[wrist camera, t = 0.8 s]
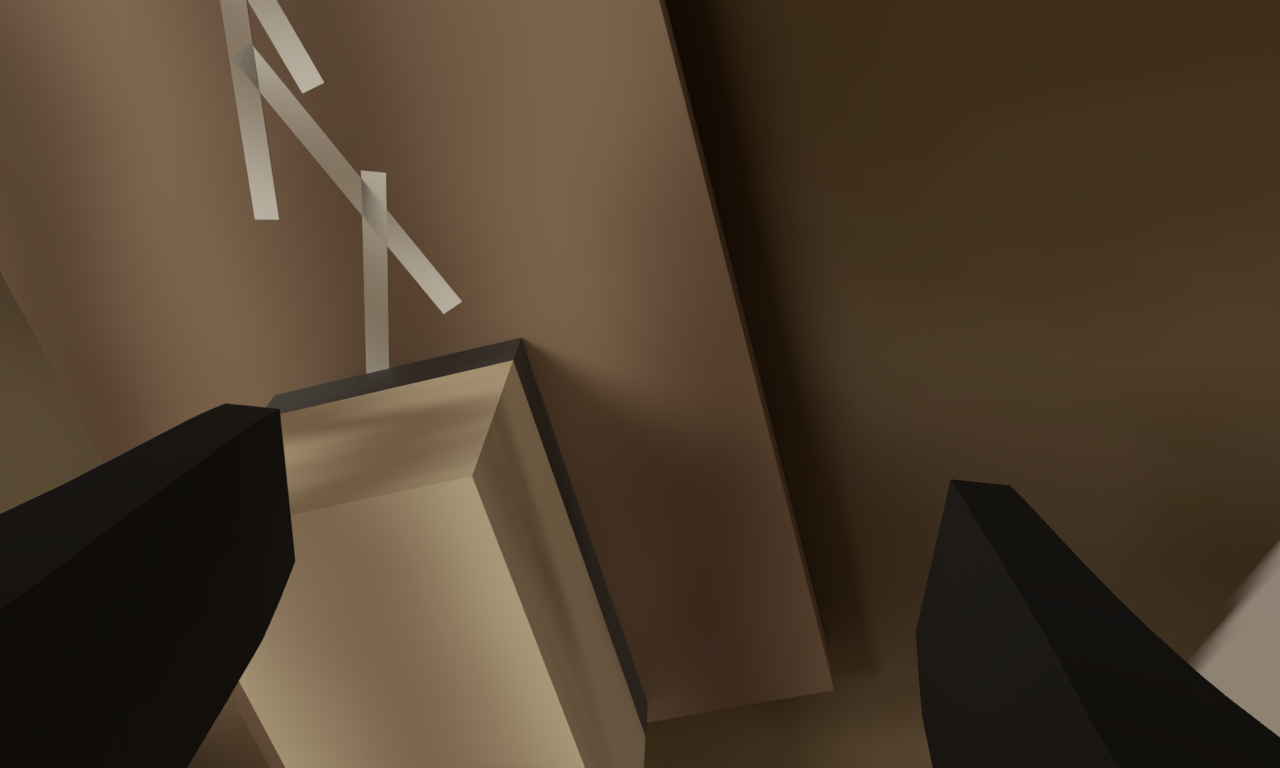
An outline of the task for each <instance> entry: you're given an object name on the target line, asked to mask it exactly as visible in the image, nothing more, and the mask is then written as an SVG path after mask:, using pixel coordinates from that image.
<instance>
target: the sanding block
mask: <svg viewBox="0 0 1280 768" xmlns="http://www.w3.org/2000/svg"><path fill="white" fill-rule="evenodd" d="M266 408H276V409H280V415H281V425H282V435H283V444H284V454H285V464H286V474H287V483H288V493H289V503H290V513H291V522H292V532H293V542H294V552H295V564H294V567H293V569H292V572H291V574H290V577H289V579H288V582H287V584H286V587H285V589H284V592H283V594H282V597H281V599H280V602H279V604H278V607H277V609H276V611H275V613H274V616H273V618H272V620H271V623H270V625H269V627H268V630H267V632H266V634H265V636H264V639H263V640H262V642H261V644H260V646H259V647H258V649H257V651H256V653H255V654H254V656H253V658H252V660H251V661H250V663H249V665H248V666H247V668H246V670H245V672H244V673H243V675H242V677H241V678H240V680H239V682H240V684H241V686H242V688H243V689H244V691H245V693H246V695H247V697H248V699H249V701H250V703H251V704H252V706H253V708H254V710H255V712H256V714H257V716H258V717H259V719H260V721H261V723H262V725H263V727H264V729H265V731H266V732H267V734H268V736H269V738H270V740H271V742H272V744H273V745H274V747H275V749H276V751H277V753H278V755H279V757H280V759H281V760H282V762H283V764H284V766H285V768H644V757H645V741H646V725H647V709H648V704H647V701H646V698H645V695H644V692H643V689H642V686H641V683H640V680H639V678H638V675H637V672H636V669H635V666H634V663H633V660H632V657H631V654H630V651H629V649H628V646H627V643H626V640H625V637H624V634H623V631H622V628H621V625H620V622H619V620H618V617H617V614H616V611H615V608H614V605H613V602H612V599H611V596H610V593H609V591H608V588H607V585H606V582H605V579H604V576H603V573H602V570H601V567H600V565H599V562H598V559H597V556H596V553H595V550H594V547H593V544H592V541H591V538H590V536H589V533H588V530H587V527H586V524H585V521H584V518H583V515H582V512H581V509H580V507H579V504H578V501H577V498H576V495H575V492H574V489H573V486H572V483H571V480H570V478H569V475H568V472H567V469H566V466H565V463H564V460H563V457H562V454H561V452H560V449H559V446H558V443H557V440H556V437H555V434H554V431H553V428H552V425H551V423H550V420H549V417H548V414H547V411H546V408H545V405H544V402H543V399H542V396H541V394H540V391H539V388H538V385H537V382H536V379H535V376H534V373H533V370H532V367H531V365H530V362H529V359H528V356H527V353H526V350H525V347H524V344H523V341H522V338H517V339H512V340H508V341H504V342H500V343H495V344H491V345H487V346H483V347H478V348H474V349H470V350H465V351H461V352H457V353H453V354H448V355H444V356H440V357H436V358H431V359H427V360H423V361H419V362H414V363H410V364H406V365H401V366H397V367H393V368H389V369H384V370H380V371H376V372H372V373H367V374H363V375H359V376H354V377H350V378H346V379H342V380H337V381H333V382H329V383H325V384H320V385H316V386H312V387H308V388H303V389H299V390H295V391H290V392H286V393H282V394H278V395H275V396H274V397H273V398H272V400H271V401H270V402H269V404H268V405H267V406H266Z"/></svg>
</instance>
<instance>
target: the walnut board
mask: <svg viewBox="0 0 1280 768" xmlns="http://www.w3.org/2000/svg"><path fill="white" fill-rule="evenodd" d="M0 272H1V274H2V276H3V278H4V279H5V281H6V283H7V285H8V287H9V289H10V291H11V292H12V294H13V296H14V298H15V300H16V302H17V303H18V305H19V307H20V309H21V311H22V313H23V315H24V316H25V318H26V320H27V322H28V324H29V326H30V327H31V329H32V331H33V333H34V335H35V337H36V338H37V340H38V342H39V344H40V346H41V348H42V350H43V351H44V353H45V355H46V357H47V359H48V361H49V362H50V364H51V366H52V368H53V370H54V372H55V374H56V375H57V377H58V379H59V381H60V383H61V385H62V386H63V388H64V390H65V392H66V394H67V396H68V398H69V399H70V401H71V403H72V405H73V407H74V409H75V410H76V412H77V414H78V416H79V418H80V420H81V421H82V423H83V425H84V427H85V429H86V431H87V433H88V434H89V436H90V438H91V440H92V442H93V444H94V445H95V447H96V449H97V451H98V453H99V455H100V457H101V458H102V460H103V462H104V463H106V462H108V461H110V460H112V459H114V458H116V457H118V456H119V455H121V454H123V453H125V452H127V451H129V450H131V449H133V448H135V447H137V446H139V445H141V444H142V443H144V442H146V441H148V440H150V439H152V438H154V437H156V436H158V435H160V434H162V433H163V432H165V431H167V430H169V429H171V428H173V427H175V426H177V425H179V424H181V423H183V422H185V421H187V420H189V419H191V418H193V417H195V416H197V415H199V414H201V413H204V412H206V411H208V410H210V409H213V408H215V407H218V406H220V405H222V404H225V403H228V404H238V405H247V406H257V407H266V406H267V405H268V404H269V402H270V401H271V400H272V398H273V397H274V396H275V395H278V394H282V393H286V392H290V391H295V390H299V389H303V388H308V387H312V386H316V385H320V384H325V383H329V382H333V381H337V380H342V379H346V378H350V377H354V376H359V375H363V374H367V373H372V372H376V371H380V370H384V369H389V368H393V367H397V366H401V365H406V364H410V363H414V362H419V361H423V360H427V359H431V358H436V357H440V356H444V355H448V354H453V353H457V352H461V351H465V350H470V349H474V348H478V347H483V346H487V345H491V344H495V343H500V342H504V341H508V340H512V339H517V338H522V341H523V344H524V347H525V350H526V353H527V356H528V359H529V362H530V365H531V367H532V370H533V373H534V376H535V379H536V382H537V385H538V388H539V391H540V394H541V396H542V399H543V402H544V405H545V408H546V411H547V414H548V417H549V420H550V423H551V425H552V428H553V431H554V434H555V437H556V440H557V443H558V446H559V449H560V452H561V454H562V457H563V460H564V463H565V466H566V469H567V472H568V475H569V478H570V480H571V483H572V486H573V489H574V492H575V495H576V498H577V501H578V504H579V507H580V509H581V512H582V515H583V518H584V521H585V524H586V527H587V530H588V533H589V536H590V538H591V541H592V544H593V547H594V550H595V553H596V556H597V559H598V562H599V565H600V567H601V570H602V573H603V576H604V579H605V582H606V585H607V588H608V591H609V593H610V596H611V599H612V602H613V605H614V608H615V611H616V614H617V617H618V620H619V622H620V625H621V628H622V631H623V634H624V637H625V640H626V643H627V646H628V649H629V651H630V654H631V657H632V660H633V663H634V666H635V669H636V672H637V675H638V678H639V680H640V683H641V686H642V689H643V692H644V695H645V698H646V701H647V704H648V709H647V723H649V722H655V721H661V720H666V719H672V718H678V717H684V716H689V715H695V714H701V713H707V712H712V711H718V710H724V709H730V708H735V707H741V706H747V705H753V704H758V703H764V702H770V701H776V700H781V699H787V698H793V697H799V696H804V695H810V694H816V693H822V692H827V691H833V690H834V686H833V679H832V672H831V666H830V659H829V652H828V646H827V641H826V637H825V633H824V630H823V626H822V622H821V618H820V614H819V610H818V606H817V602H816V598H815V594H814V590H813V586H812V582H811V578H810V574H809V570H808V566H807V562H806V558H805V554H804V550H803V546H802V542H801V538H800V534H799V530H798V526H797V522H796V518H795V514H794V510H793V506H792V502H791V498H790V494H789V490H788V486H787V482H786V478H785V474H784V470H783V467H782V463H781V459H780V455H779V451H778V447H777V443H776V439H775V435H774V431H773V427H772V423H771V419H770V415H769V411H768V407H767V403H766V399H765V395H764V391H763V387H762V383H761V379H760V375H759V371H758V367H757V363H756V359H755V355H754V351H753V347H752V343H751V339H750V335H749V331H748V327H747V323H746V319H745V315H744V311H743V307H742V304H741V300H740V296H739V292H738V288H737V284H736V280H735V276H734V272H733V268H732V264H731V260H730V256H729V252H728V248H727V244H726V240H725V236H724V232H723V228H722V224H721V220H720V216H719V212H718V208H717V204H716V200H715V196H714V192H713V188H712V184H711V180H710V176H709V172H708V168H707V164H706V160H705V156H704V152H703V148H702V145H701V141H700V137H699V133H698V129H697V125H696V121H695V117H694V113H693V109H692V105H691V101H690V97H689V93H688V89H687V85H686V81H685V77H684V73H683V69H682V65H681V61H680V57H679V53H678V49H677V45H676V41H675V37H674V33H673V29H672V25H671V21H670V17H669V13H668V9H667V5H666V1H665V0H0ZM230 696H231V698H232V700H233V702H234V704H235V706H236V707H237V709H238V711H239V713H240V715H241V717H242V718H243V720H244V722H245V724H246V726H247V728H248V730H249V731H250V733H251V735H252V737H253V739H254V741H255V742H256V744H257V746H258V748H259V750H260V752H261V754H262V755H263V757H264V759H265V761H266V763H267V765H268V766H269V768H285V766H284V764H283V762H282V760H281V759H280V757H279V755H278V753H277V751H276V749H275V747H274V745H273V744H272V742H271V740H270V738H269V736H268V734H267V732H266V731H265V729H264V727H263V725H262V723H261V721H260V719H259V717H258V716H257V714H256V712H255V710H254V708H253V706H252V704H251V703H250V701H249V699H248V697H247V695H246V693H245V691H244V689H243V688H242V686H241V684H240V682H238V683H237V685H236V687H235V689H234V690H233V692H232V694H231V695H230Z"/></svg>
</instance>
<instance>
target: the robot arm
mask: <svg viewBox="0 0 1280 768" xmlns="http://www.w3.org/2000/svg"><path fill="white" fill-rule="evenodd" d="M294 564H295V552H294V542H293V532H292V522H291V513H290V503H289V493H288V483H287V474H286V464H285V454H284V444H283V435H282V425H281V415H280V409H276V408H266V407H257V406H247V405H238V404H228V403H225V404H222V405H220V406H218V407H215V408H213V409H210V410H208V411H206V412H204V413H201V414H199V415H197V416H195V417H193V418H191V419H189V420H187V421H185V422H183V423H181V424H179V425H177V426H175V427H173V428H171V429H169V430H167V431H165V432H163V433H162V434H160V435H158V436H156V437H154V438H152V439H150V440H148V441H146V442H144V443H142V444H141V445H139V446H137V447H135V448H133V449H131V450H129V451H127V452H125V453H123V454H121V455H119V456H118V457H116V458H114V459H112V460H110V461H108V462H106V463H104V464H102V465H100V466H98V467H96V468H94V469H92V470H90V471H89V472H87V473H85V474H83V475H81V476H79V477H77V478H75V479H73V480H71V481H69V482H67V483H65V484H63V485H61V486H59V487H57V488H55V489H53V490H51V491H48V492H46V493H44V494H42V495H40V496H38V497H36V498H34V499H31V500H29V501H27V502H25V503H23V504H21V505H19V506H17V507H15V508H12V509H10V510H8V511H6V512H4V513H2V514H0V768H187V767H188V765H189V763H190V762H191V760H192V759H193V757H194V755H195V754H196V752H197V750H198V749H199V747H200V745H201V744H202V742H203V740H204V739H205V737H206V735H207V734H208V732H209V730H210V729H211V727H212V725H213V724H214V722H215V720H216V719H217V717H218V715H219V714H220V712H221V710H222V709H223V707H224V705H225V704H226V702H227V700H228V699H229V697H230V695H231V694H232V692H233V690H234V689H235V687H236V685H237V683H238V682H239V680H240V678H241V677H242V675H243V673H244V672H245V670H246V668H247V666H248V665H249V663H250V661H251V660H252V658H253V656H254V654H255V653H256V651H257V649H258V647H259V646H260V644H261V642H262V640H263V639H264V636H265V634H266V632H267V630H268V627H269V625H270V623H271V620H272V618H273V616H274V613H275V611H276V609H277V607H278V604H279V602H280V599H281V597H282V594H283V592H284V589H285V587H286V584H287V582H288V579H289V577H290V574H291V572H292V569H293V567H294ZM916 639H917V654H918V669H919V683H920V695H921V706H922V717H923V722H924V727H925V732H926V737H927V742H928V747H929V751H930V756H931V761H932V766H933V768H1280V737H1278V736H1277V735H1276V734H1275V733H1273V732H1272V731H1271V730H1269V729H1268V728H1267V727H1266V726H1264V725H1263V724H1262V723H1260V722H1259V721H1258V720H1256V719H1255V718H1254V717H1253V716H1251V715H1250V714H1248V713H1247V712H1246V711H1245V710H1243V709H1242V708H1241V707H1240V706H1238V705H1237V704H1236V703H1234V702H1233V701H1232V700H1230V699H1229V698H1228V697H1226V696H1225V695H1224V694H1223V693H1222V692H1221V691H1219V690H1218V689H1217V688H1216V687H1215V686H1213V685H1212V684H1211V683H1210V682H1209V681H1207V680H1206V679H1205V678H1204V677H1202V676H1201V675H1200V674H1199V673H1198V672H1197V671H1196V670H1195V669H1193V668H1192V667H1191V666H1190V665H1189V664H1188V663H1187V662H1186V661H1185V660H1183V659H1182V658H1181V657H1180V656H1179V655H1178V654H1177V653H1176V652H1174V651H1173V650H1172V649H1171V648H1170V647H1169V646H1168V645H1167V644H1166V643H1164V642H1163V641H1162V640H1161V639H1160V638H1159V637H1158V636H1157V635H1156V634H1154V633H1153V632H1152V631H1151V630H1150V629H1149V628H1148V627H1147V626H1146V625H1145V624H1144V623H1143V622H1142V621H1141V620H1140V619H1139V618H1138V617H1137V616H1136V615H1134V614H1133V613H1132V612H1131V611H1130V610H1129V609H1128V608H1127V607H1126V606H1125V605H1124V604H1123V603H1122V602H1121V601H1120V600H1119V599H1118V598H1117V597H1116V596H1115V595H1114V594H1113V593H1112V592H1111V591H1110V590H1109V589H1108V588H1107V587H1106V586H1105V585H1104V584H1103V583H1102V582H1101V581H1100V580H1099V579H1098V578H1097V577H1096V576H1095V575H1094V574H1093V572H1092V571H1091V570H1090V569H1089V568H1088V567H1087V566H1086V565H1085V564H1084V563H1083V562H1082V561H1081V560H1080V559H1079V558H1078V557H1077V556H1076V555H1075V554H1074V553H1073V551H1072V550H1071V549H1070V548H1069V547H1068V546H1067V545H1066V544H1065V543H1064V542H1063V541H1062V540H1061V539H1060V538H1059V537H1058V535H1057V534H1056V533H1055V532H1054V531H1053V530H1052V529H1051V528H1050V527H1049V526H1048V525H1047V524H1046V523H1045V521H1044V520H1043V519H1042V518H1041V517H1040V516H1039V515H1038V514H1037V513H1036V512H1035V511H1034V510H1033V509H1032V508H1031V506H1030V505H1029V504H1028V503H1027V502H1026V501H1025V500H1024V499H1023V498H1022V497H1021V496H1020V495H1019V494H1018V493H1017V492H1016V491H1015V490H1014V489H1013V488H1012V487H1011V486H1008V485H999V484H989V483H980V482H970V481H961V480H951V481H950V485H949V489H948V494H947V498H946V502H945V507H944V511H943V516H942V520H941V524H940V529H939V533H938V538H937V542H936V546H935V551H934V555H933V559H932V564H931V568H930V573H929V577H928V581H927V586H926V590H925V594H924V599H923V603H922V608H921V612H920V616H919V621H918V625H917V630H916Z"/></svg>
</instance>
